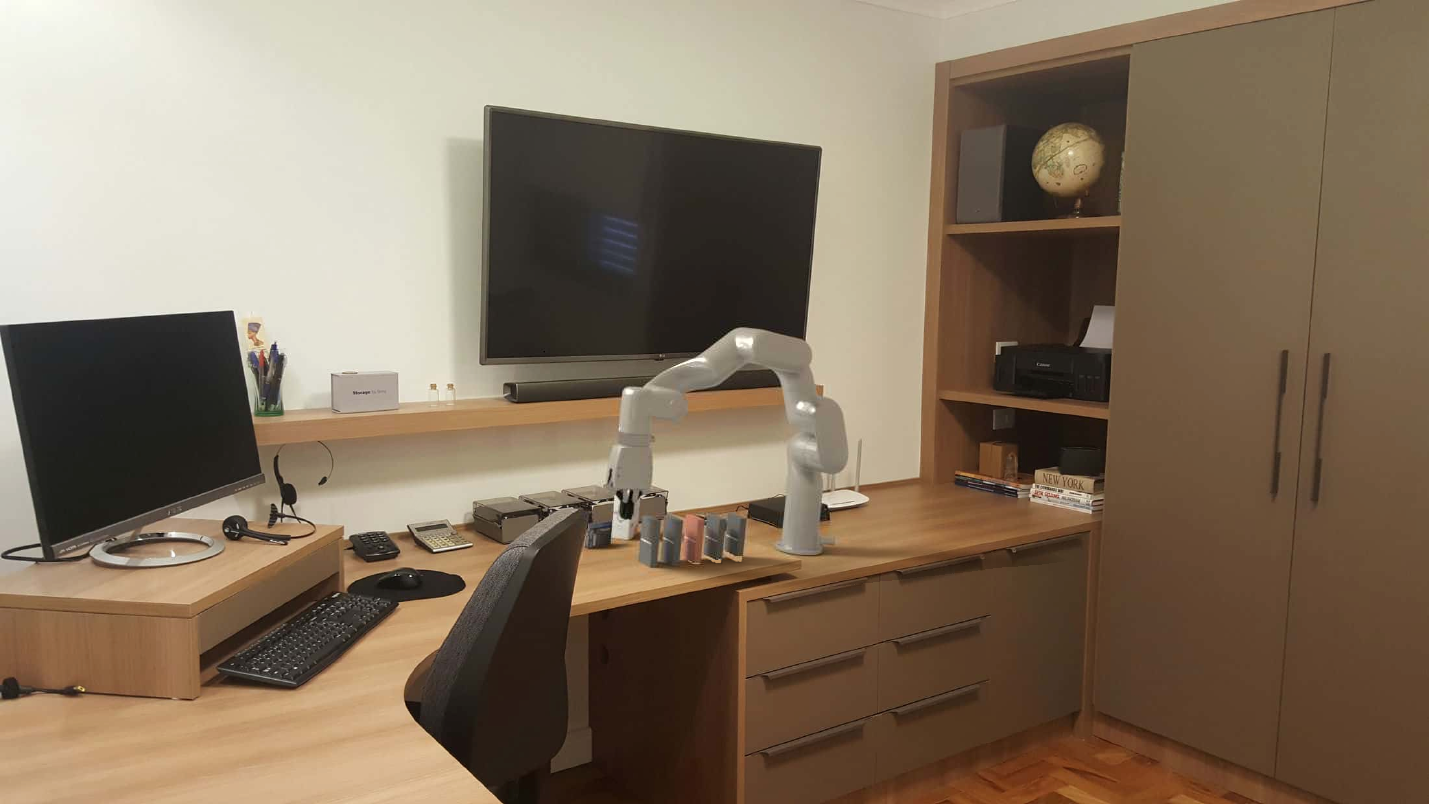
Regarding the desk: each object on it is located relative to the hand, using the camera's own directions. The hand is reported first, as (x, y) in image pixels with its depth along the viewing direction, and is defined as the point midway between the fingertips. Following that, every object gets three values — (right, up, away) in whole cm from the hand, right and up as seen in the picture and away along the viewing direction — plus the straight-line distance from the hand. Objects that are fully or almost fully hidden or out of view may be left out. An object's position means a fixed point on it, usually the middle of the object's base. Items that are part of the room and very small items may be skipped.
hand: (625, 518), depth 235 cm
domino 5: (+25, -12, +17) cm, 33 cm away
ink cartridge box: (-3, -8, +31) cm, 32 cm away
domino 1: (+5, -11, +5) cm, 13 cm away
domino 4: (+20, -12, +14) cm, 27 cm away
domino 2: (+10, -12, +8) cm, 17 cm away
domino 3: (+15, -12, +11) cm, 22 cm away
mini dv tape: (-9, -9, +17) cm, 21 cm away
